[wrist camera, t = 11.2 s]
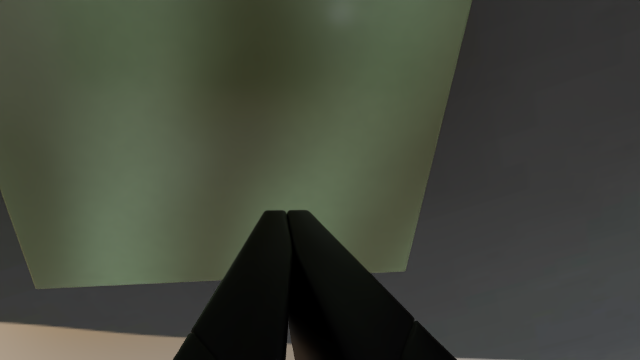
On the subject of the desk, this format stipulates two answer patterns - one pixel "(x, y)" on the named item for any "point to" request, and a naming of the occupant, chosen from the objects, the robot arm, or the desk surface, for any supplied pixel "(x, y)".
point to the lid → (216, 128)
